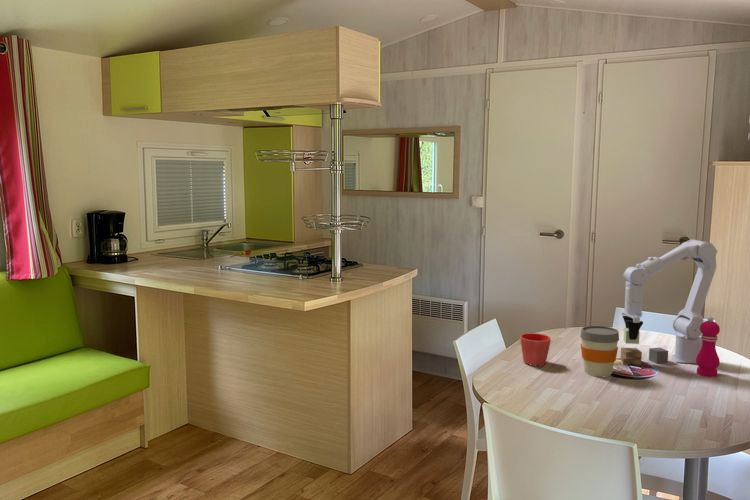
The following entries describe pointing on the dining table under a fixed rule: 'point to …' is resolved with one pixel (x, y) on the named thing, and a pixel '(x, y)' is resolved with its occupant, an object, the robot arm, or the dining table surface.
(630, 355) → the top slab
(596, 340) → the reusable coffee cup
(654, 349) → the charcoal block
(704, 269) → the robot arm
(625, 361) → the base slab
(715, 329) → the pepper mill
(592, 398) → the dining table surface
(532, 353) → the flower pot
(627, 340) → the green cube
